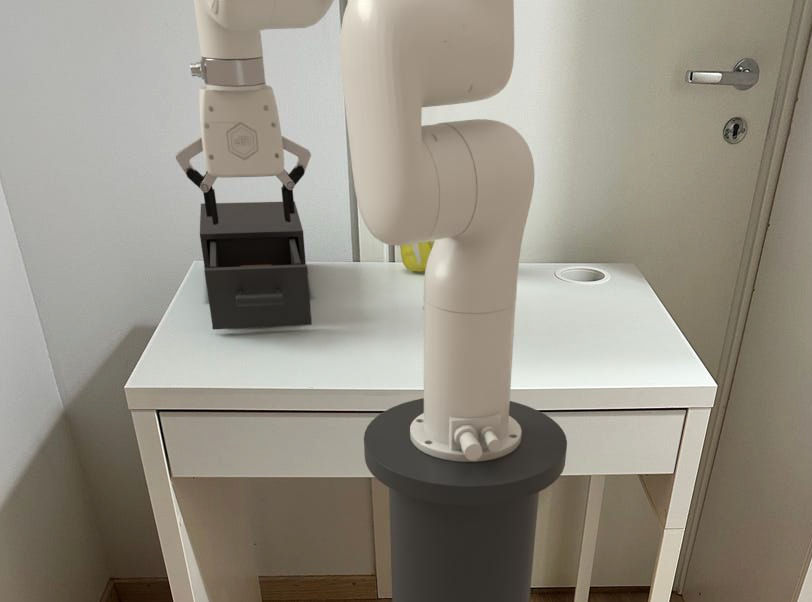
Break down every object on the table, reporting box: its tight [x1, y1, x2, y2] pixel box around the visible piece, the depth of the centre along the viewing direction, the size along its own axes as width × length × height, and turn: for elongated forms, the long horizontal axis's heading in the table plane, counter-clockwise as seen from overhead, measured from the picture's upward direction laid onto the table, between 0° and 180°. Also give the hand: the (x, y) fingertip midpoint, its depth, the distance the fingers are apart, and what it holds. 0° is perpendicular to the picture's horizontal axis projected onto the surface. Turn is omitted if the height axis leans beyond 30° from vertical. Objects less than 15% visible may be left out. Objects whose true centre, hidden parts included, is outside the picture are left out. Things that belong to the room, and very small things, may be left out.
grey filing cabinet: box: [199, 200, 307, 269], centre depth 140 cm, size 18×15×10 cm
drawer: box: [204, 237, 313, 330], centre depth 127 cm, size 21×13×8 cm, turn 12°
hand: (251, 220), depth 124 cm, fingers open, 9 cm apart
